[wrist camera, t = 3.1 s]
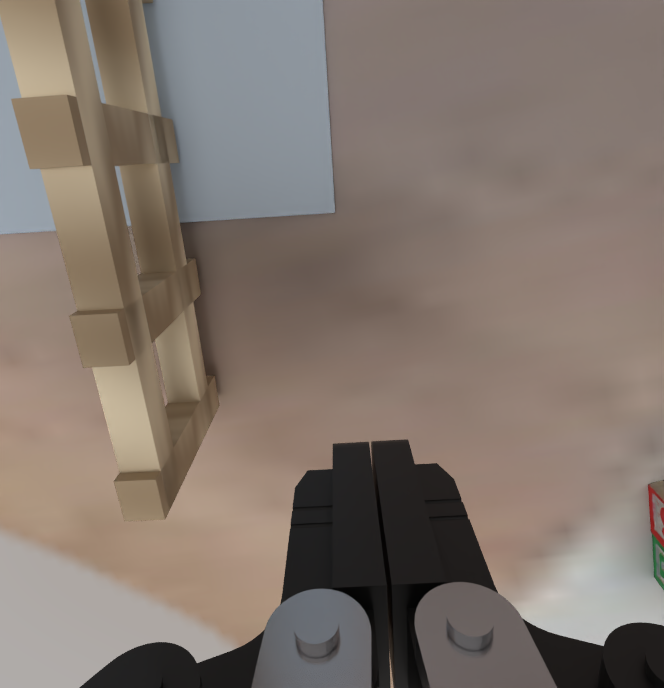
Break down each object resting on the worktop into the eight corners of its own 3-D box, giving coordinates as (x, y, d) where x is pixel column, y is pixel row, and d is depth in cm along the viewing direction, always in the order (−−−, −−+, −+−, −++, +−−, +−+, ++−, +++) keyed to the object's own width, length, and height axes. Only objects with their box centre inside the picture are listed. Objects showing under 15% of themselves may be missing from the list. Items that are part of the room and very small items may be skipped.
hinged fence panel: (105, -52, 15) (-74, -214, 8) (143, -55, 15) (-7, -221, 8) (191, 406, 21) (124, 521, 14) (219, 405, 21) (165, 519, 14)
